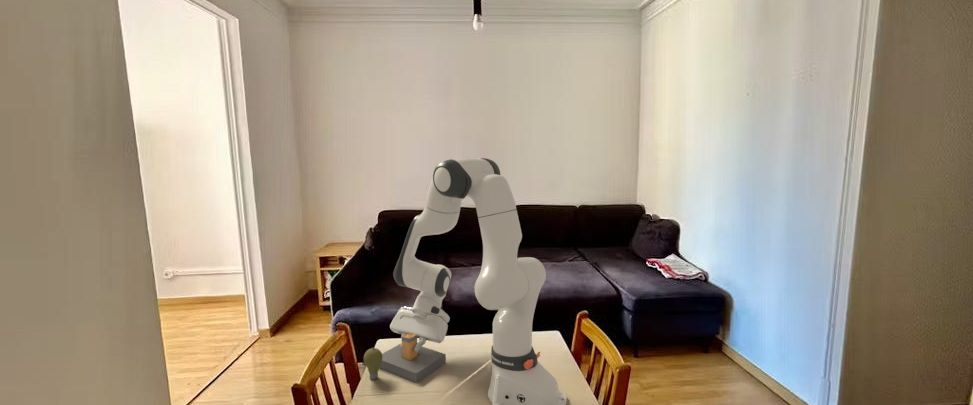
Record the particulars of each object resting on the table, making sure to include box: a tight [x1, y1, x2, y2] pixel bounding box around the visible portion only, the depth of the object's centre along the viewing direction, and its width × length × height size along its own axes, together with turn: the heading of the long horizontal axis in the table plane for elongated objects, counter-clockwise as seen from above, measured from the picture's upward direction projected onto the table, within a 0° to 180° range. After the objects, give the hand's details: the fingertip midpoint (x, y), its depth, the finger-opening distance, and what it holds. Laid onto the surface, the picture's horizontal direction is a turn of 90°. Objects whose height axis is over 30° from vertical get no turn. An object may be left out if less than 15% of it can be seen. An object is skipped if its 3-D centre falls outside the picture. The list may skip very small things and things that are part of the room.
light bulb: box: [363, 347, 383, 381], centre depth 130 cm, size 6×6×10 cm
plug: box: [401, 333, 418, 360], centre depth 137 cm, size 3×4×10 cm
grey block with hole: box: [379, 343, 447, 384], centre depth 138 cm, size 18×14×4 cm
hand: (408, 349), depth 137 cm, fingers closed on plug, 3 cm apart
